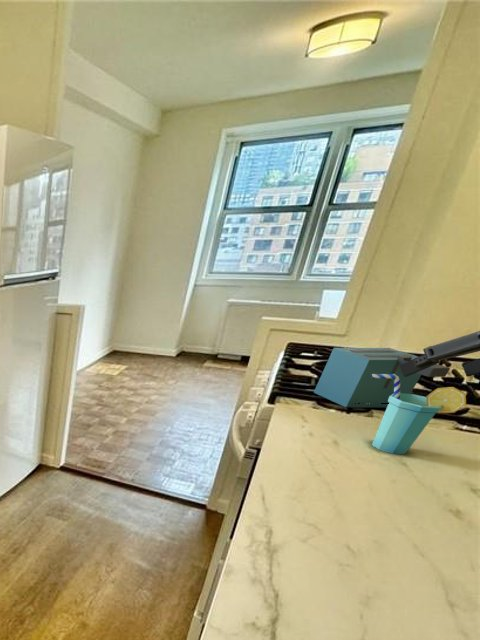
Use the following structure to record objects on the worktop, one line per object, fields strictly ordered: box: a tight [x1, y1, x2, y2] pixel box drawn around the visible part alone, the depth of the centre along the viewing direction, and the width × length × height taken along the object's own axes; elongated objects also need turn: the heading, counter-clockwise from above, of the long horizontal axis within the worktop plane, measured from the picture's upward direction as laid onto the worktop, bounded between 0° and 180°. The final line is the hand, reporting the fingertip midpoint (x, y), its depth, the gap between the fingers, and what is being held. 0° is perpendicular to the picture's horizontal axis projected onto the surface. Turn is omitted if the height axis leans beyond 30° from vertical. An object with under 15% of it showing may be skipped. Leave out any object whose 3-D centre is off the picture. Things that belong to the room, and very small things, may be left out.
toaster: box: [313, 347, 422, 408], centre depth 118 cm, size 14×12×13 cm
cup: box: [371, 374, 467, 455], centre depth 95 cm, size 14×8×15 cm, turn 57°
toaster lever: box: [398, 359, 451, 378], centre depth 108 cm, size 4×9×2 cm, turn 0°
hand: (434, 371), depth 105 cm, fingers open, 13 cm apart
